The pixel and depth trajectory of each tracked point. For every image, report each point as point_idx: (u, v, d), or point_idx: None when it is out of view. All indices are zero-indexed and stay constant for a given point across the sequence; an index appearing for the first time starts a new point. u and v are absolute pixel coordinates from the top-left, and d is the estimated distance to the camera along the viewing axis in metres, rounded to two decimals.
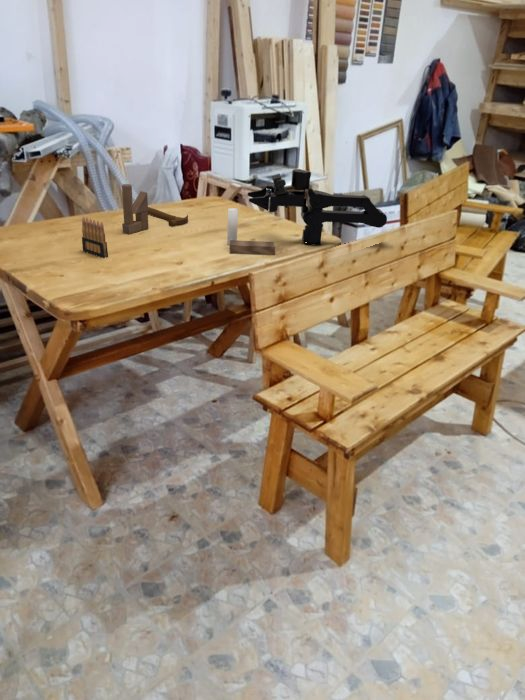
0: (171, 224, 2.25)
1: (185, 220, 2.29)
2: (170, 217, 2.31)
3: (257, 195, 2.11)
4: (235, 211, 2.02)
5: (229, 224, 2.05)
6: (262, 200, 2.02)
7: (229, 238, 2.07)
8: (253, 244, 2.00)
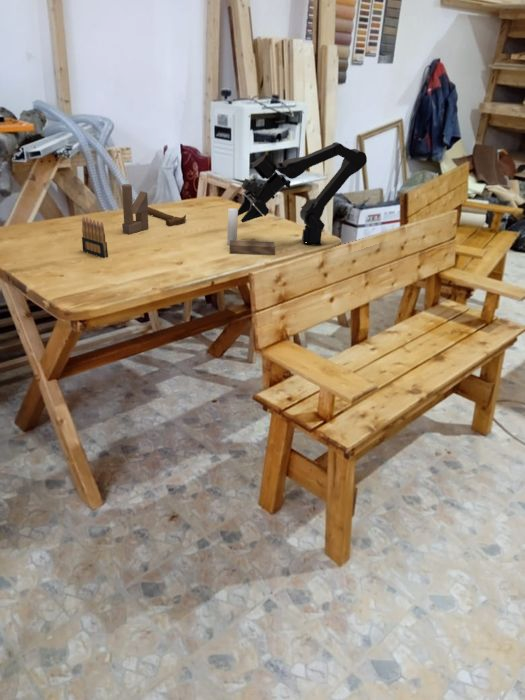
0: (168, 224, 2.25)
1: (182, 220, 2.29)
2: (168, 217, 2.31)
3: (244, 208, 2.09)
4: (235, 211, 2.02)
5: (229, 224, 2.05)
6: (251, 212, 2.00)
7: (229, 238, 2.07)
8: (253, 244, 2.00)
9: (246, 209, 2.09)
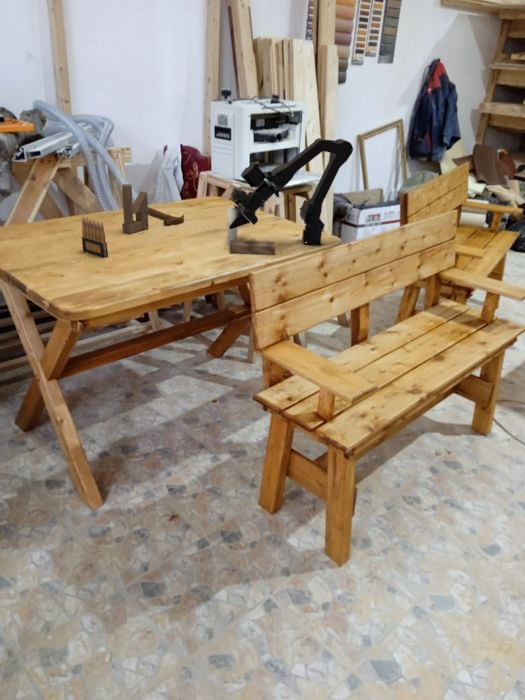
0: (166, 223, 2.25)
1: (180, 220, 2.29)
2: (166, 216, 2.31)
3: None
4: (235, 211, 2.02)
5: (229, 224, 2.05)
6: (239, 219, 2.02)
7: (229, 238, 2.07)
8: (253, 244, 2.00)
9: None
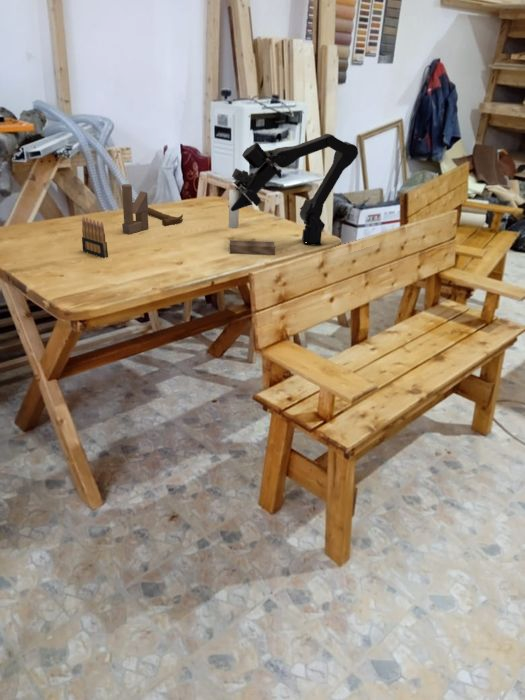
0: (164, 223, 2.25)
1: (179, 219, 2.30)
2: (164, 216, 2.31)
3: None
4: (237, 192, 1.98)
5: (231, 206, 2.00)
6: (241, 200, 1.98)
7: (231, 220, 2.03)
8: (253, 244, 2.00)
9: None
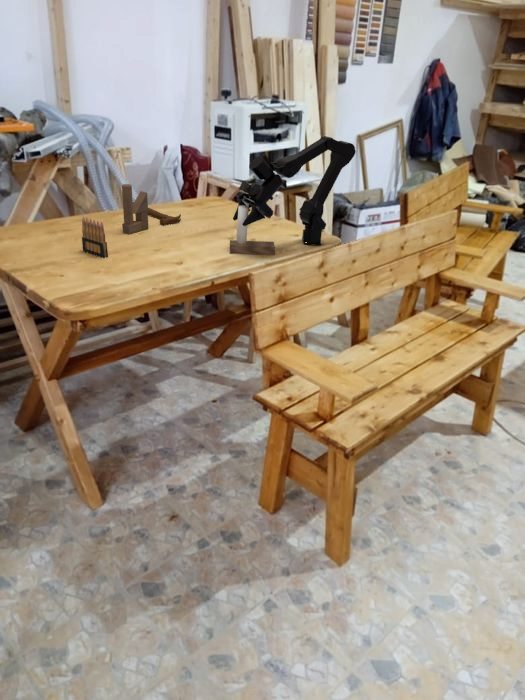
0: (162, 223, 2.26)
1: (177, 219, 2.30)
2: (162, 216, 2.32)
3: None
4: (247, 208, 1.94)
5: (240, 222, 1.96)
6: (253, 215, 1.93)
7: (240, 237, 1.99)
8: (253, 244, 2.00)
9: None
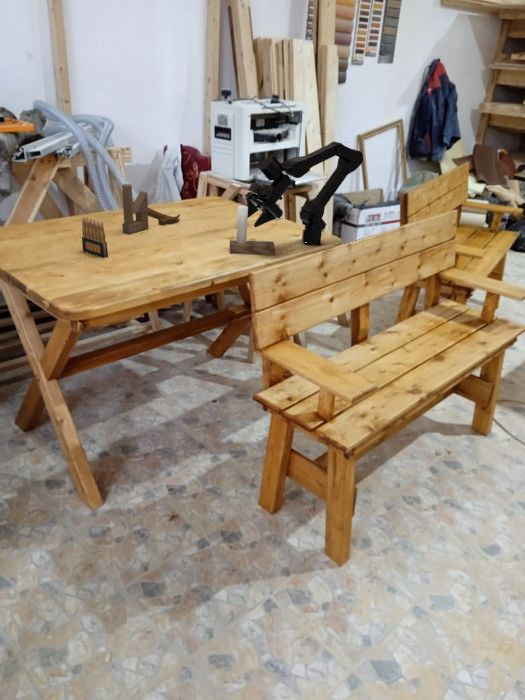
0: (161, 223, 2.26)
1: (175, 219, 2.30)
2: (161, 216, 2.32)
3: (249, 212, 2.03)
4: (246, 208, 1.95)
5: (240, 222, 1.96)
6: (264, 216, 1.95)
7: (240, 237, 1.99)
8: (253, 244, 2.00)
9: (251, 213, 2.03)
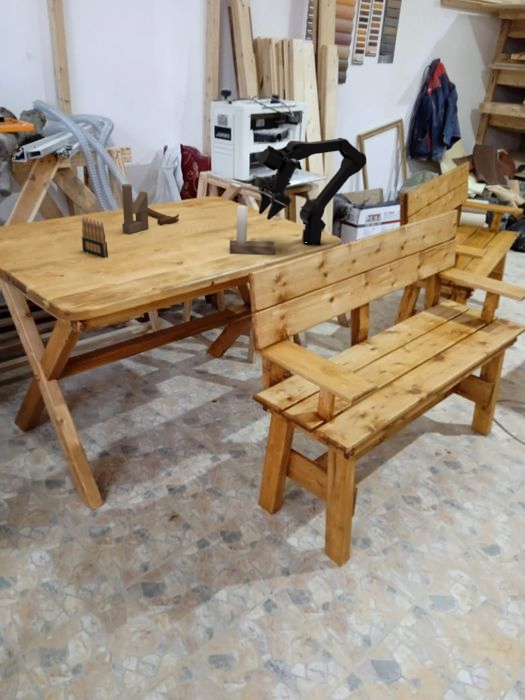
0: (160, 223, 2.26)
1: (174, 219, 2.30)
2: (160, 216, 2.32)
3: (265, 204, 2.07)
4: (246, 208, 1.94)
5: (240, 222, 1.96)
6: (274, 207, 1.97)
7: (240, 237, 1.99)
8: (253, 244, 2.00)
9: (267, 204, 2.07)
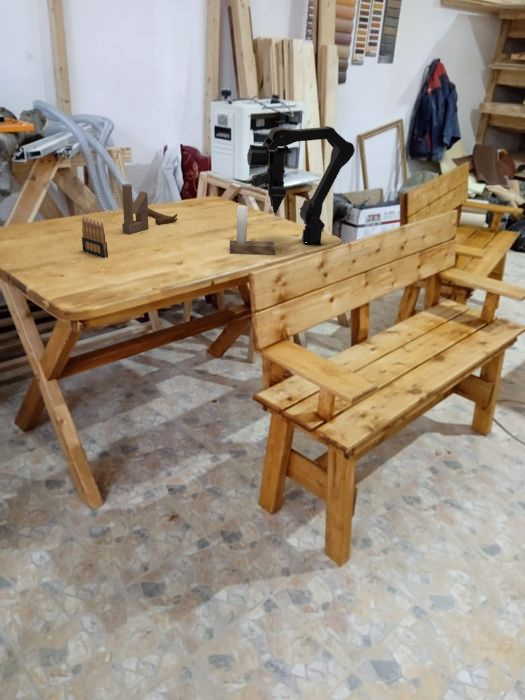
0: (157, 222, 2.26)
1: (173, 219, 2.30)
2: (158, 215, 2.32)
3: None
4: (246, 208, 1.94)
5: (240, 222, 1.96)
6: (275, 200, 1.99)
7: (240, 237, 1.99)
8: (253, 244, 2.00)
9: None
